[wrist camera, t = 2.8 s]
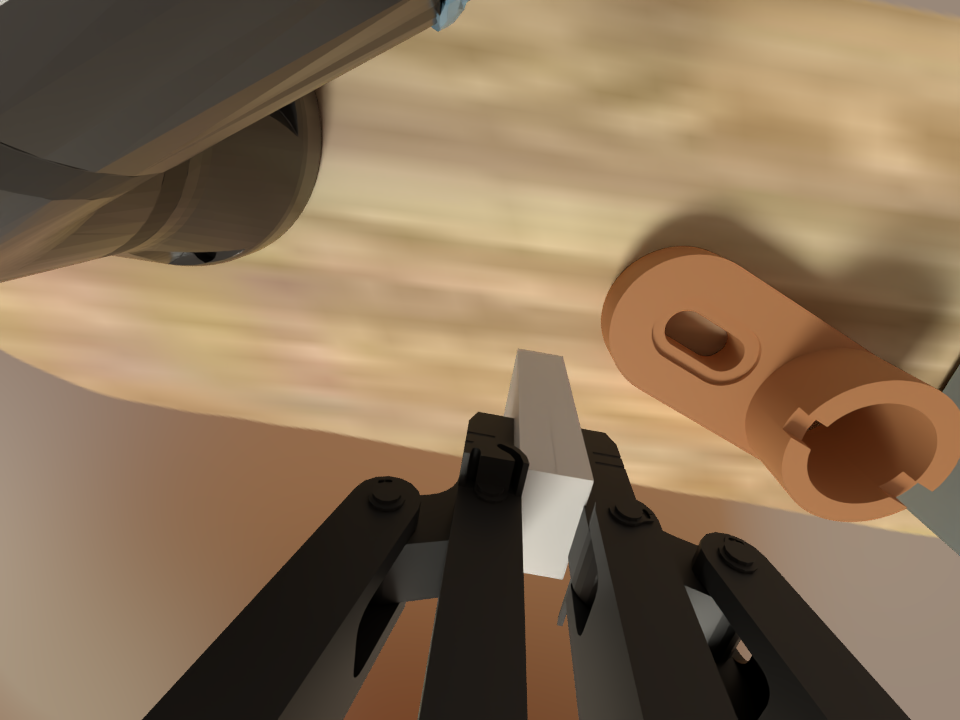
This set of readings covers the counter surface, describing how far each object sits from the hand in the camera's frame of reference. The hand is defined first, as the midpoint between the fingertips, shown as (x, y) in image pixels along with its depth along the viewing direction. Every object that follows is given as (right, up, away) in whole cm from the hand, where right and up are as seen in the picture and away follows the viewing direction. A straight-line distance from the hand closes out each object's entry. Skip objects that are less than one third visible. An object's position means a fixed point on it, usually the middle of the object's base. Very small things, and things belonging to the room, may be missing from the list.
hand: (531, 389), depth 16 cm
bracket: (+14, +1, +13) cm, 19 cm away
